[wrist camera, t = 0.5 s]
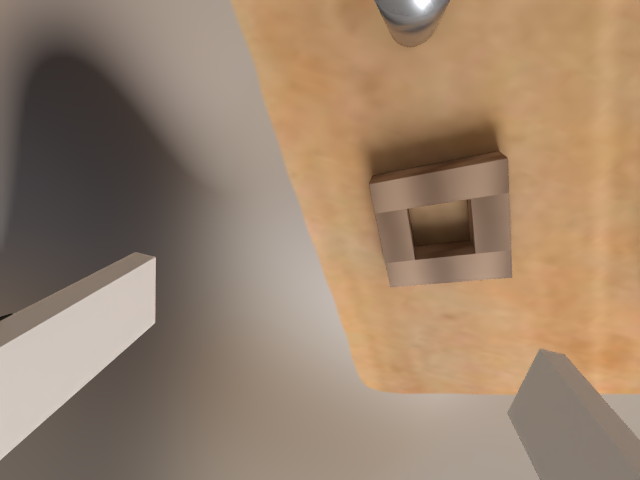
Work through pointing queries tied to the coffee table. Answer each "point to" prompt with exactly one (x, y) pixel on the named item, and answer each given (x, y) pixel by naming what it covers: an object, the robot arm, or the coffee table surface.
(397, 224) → the wooden square hole block
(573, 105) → the coffee table surface
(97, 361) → the robot arm
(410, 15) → the metal peg
